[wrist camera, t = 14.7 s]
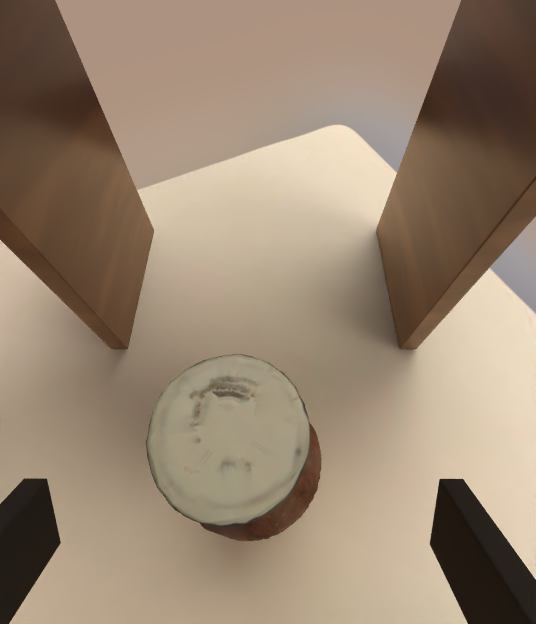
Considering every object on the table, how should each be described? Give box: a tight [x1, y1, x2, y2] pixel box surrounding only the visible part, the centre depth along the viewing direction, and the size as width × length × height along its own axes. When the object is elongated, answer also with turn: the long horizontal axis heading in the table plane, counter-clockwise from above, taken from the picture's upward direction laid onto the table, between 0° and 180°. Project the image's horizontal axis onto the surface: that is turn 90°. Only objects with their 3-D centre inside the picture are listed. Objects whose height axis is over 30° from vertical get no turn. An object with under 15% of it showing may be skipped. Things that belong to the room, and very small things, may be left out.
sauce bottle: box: [146, 355, 321, 541], centre depth 17 cm, size 7×6×20 cm
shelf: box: [0, 0, 536, 349], centre depth 21 cm, size 27×14×32 cm, turn 90°
